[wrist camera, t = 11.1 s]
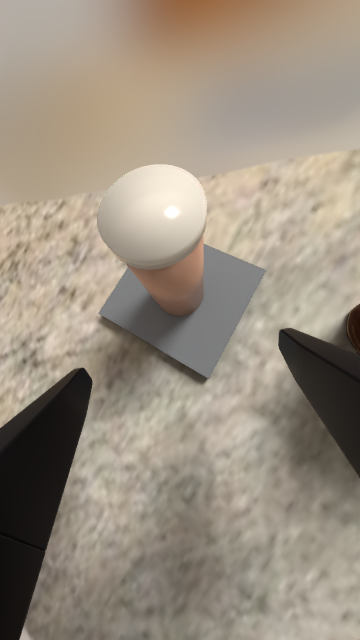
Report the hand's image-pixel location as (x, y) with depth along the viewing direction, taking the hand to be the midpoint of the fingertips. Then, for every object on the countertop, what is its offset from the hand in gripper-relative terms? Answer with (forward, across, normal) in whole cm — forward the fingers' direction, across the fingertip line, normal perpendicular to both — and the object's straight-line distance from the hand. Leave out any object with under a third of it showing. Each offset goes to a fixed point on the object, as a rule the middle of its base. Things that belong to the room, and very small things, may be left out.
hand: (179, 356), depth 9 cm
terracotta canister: (+10, 0, +1) cm, 10 cm away
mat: (+11, 0, +2) cm, 11 cm away
